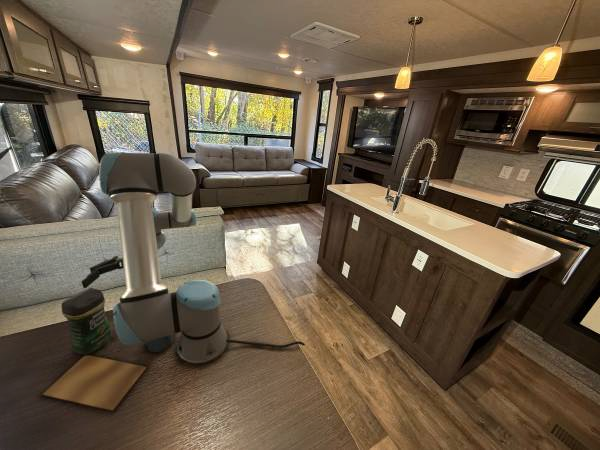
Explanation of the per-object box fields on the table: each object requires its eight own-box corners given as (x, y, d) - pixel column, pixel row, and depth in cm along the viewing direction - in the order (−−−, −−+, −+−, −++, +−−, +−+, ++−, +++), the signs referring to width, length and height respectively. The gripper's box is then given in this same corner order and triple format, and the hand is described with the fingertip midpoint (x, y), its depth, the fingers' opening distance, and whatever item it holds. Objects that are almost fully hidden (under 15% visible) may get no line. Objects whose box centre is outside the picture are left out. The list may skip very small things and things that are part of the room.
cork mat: (146, 367, 73) (146, 367, 73) (113, 411, 62) (112, 410, 62) (85, 355, 75) (85, 354, 75) (42, 395, 64) (42, 394, 64)
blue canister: (178, 335, 85) (174, 310, 80) (163, 354, 78) (159, 327, 73) (157, 331, 85) (152, 306, 81) (141, 349, 78) (135, 323, 74)
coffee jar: (88, 359, 73) (74, 308, 67) (67, 352, 75) (51, 302, 68) (118, 335, 82) (108, 288, 76) (99, 329, 84) (87, 283, 77)
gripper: (173, 263, 103) (145, 296, 84) (111, 259, 102) (68, 293, 82) (171, 247, 100) (142, 278, 81) (107, 243, 99) (62, 274, 79)
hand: (105, 286), depth 82 cm, fingers open, 13 cm apart
